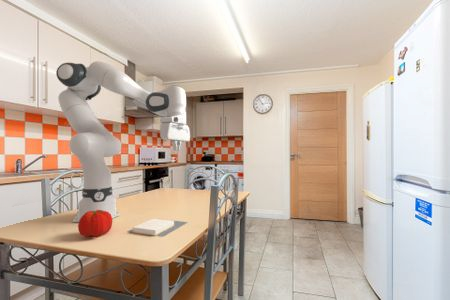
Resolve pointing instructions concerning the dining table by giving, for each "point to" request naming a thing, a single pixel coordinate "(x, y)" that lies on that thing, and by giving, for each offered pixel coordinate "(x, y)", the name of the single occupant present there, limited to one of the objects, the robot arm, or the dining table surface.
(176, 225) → the mat
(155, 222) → the tile
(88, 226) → the tomato
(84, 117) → the robot arm
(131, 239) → the dining table surface
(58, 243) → the dining table surface
